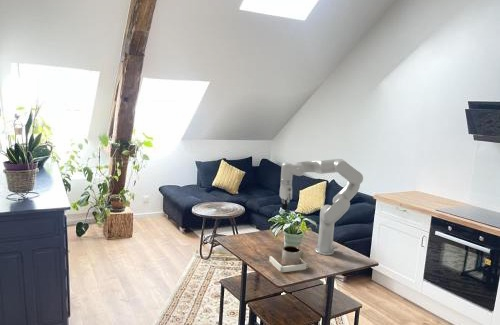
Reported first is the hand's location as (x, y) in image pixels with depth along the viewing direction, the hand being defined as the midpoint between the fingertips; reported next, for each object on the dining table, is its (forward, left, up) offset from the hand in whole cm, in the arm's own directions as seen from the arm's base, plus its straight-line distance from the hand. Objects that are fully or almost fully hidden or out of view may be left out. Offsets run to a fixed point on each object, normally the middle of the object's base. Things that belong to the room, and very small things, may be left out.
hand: (284, 209), depth 242 cm
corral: (+8, +24, -27) cm, 37 cm away
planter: (+6, +24, -27) cm, 37 cm away
